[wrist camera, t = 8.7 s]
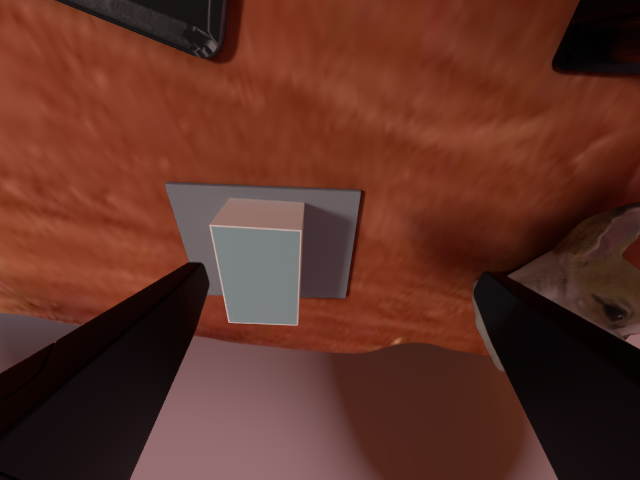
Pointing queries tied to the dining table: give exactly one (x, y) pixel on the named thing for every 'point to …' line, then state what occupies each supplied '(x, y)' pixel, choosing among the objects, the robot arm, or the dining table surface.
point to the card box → (260, 259)
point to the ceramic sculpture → (588, 274)
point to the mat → (318, 230)
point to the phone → (166, 21)
